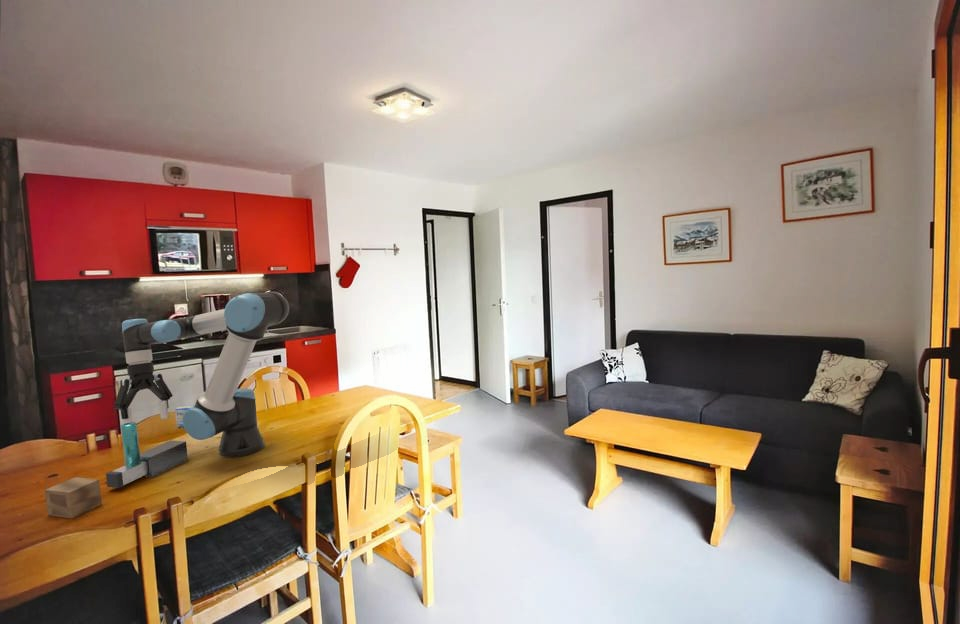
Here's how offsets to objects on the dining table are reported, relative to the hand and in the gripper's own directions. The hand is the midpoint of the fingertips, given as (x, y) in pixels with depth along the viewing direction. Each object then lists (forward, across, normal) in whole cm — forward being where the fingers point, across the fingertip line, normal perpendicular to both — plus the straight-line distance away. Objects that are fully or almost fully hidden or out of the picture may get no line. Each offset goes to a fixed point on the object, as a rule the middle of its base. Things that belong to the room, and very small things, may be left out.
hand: (147, 423), depth 164 cm
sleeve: (+16, +1, +5) cm, 17 cm away
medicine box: (+9, -38, -23) cm, 45 cm away
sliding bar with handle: (+15, +7, +5) cm, 17 cm away
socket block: (+18, +29, +5) cm, 35 cm away
